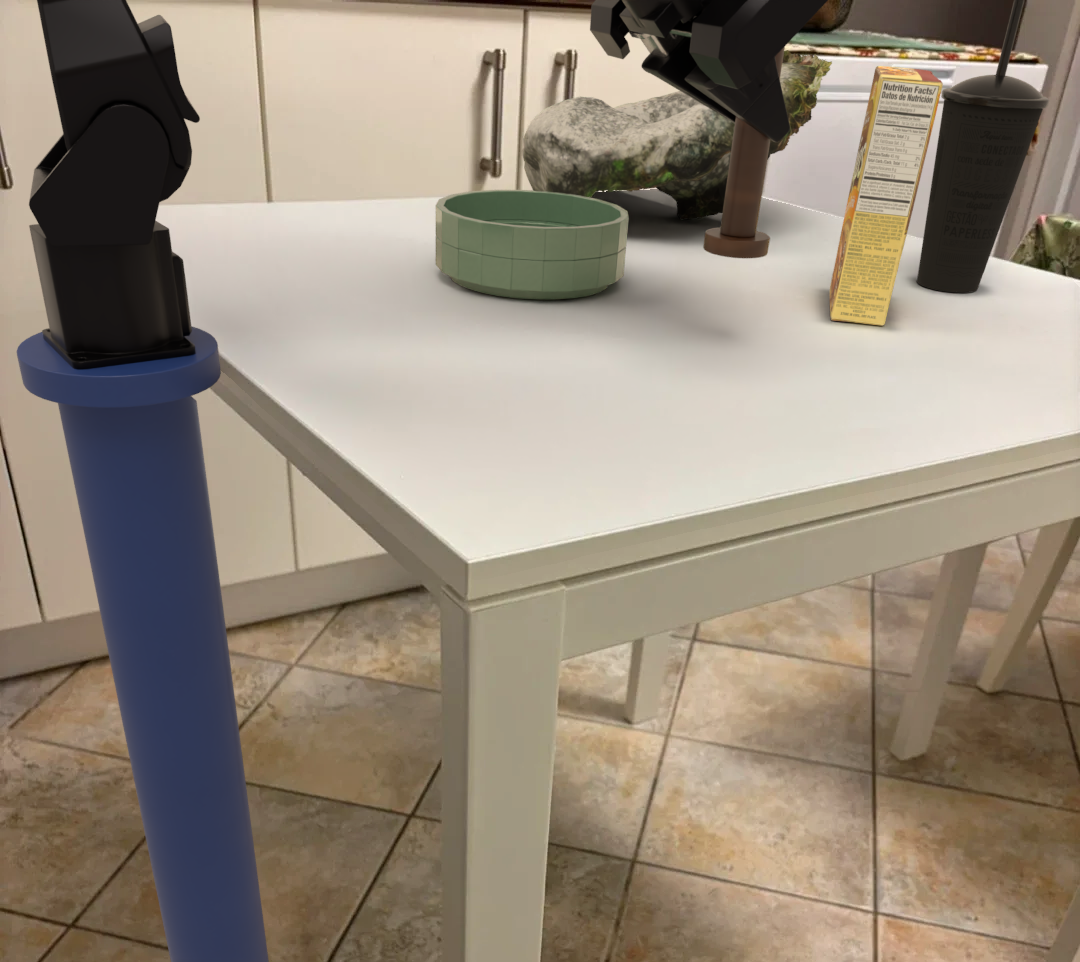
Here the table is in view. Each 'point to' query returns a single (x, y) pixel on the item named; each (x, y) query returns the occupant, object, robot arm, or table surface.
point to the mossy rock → (653, 143)
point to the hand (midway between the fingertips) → (772, 133)
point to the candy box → (883, 192)
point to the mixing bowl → (530, 243)
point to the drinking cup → (976, 170)
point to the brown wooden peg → (743, 194)
